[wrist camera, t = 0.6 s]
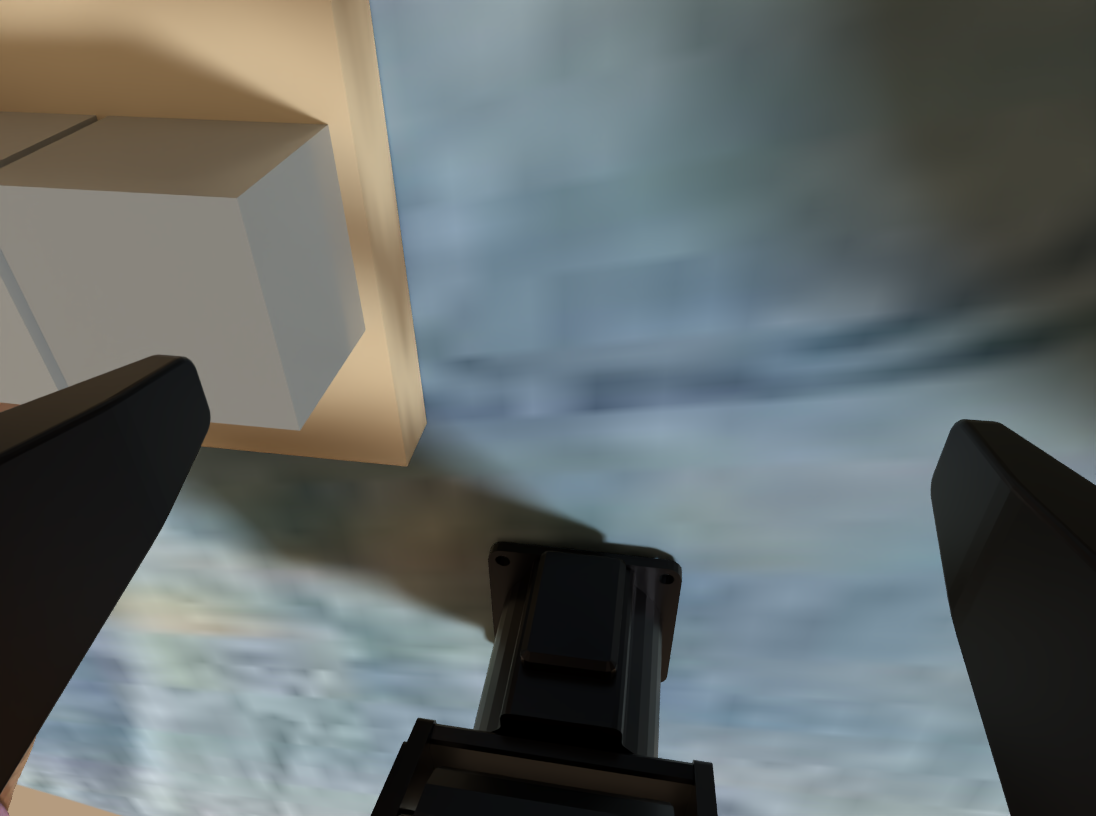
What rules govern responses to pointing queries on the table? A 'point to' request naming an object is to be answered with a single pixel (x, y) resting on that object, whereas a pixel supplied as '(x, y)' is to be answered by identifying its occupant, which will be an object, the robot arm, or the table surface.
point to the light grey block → (3, 313)
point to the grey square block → (190, 257)
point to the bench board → (260, 96)
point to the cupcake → (12, 784)
